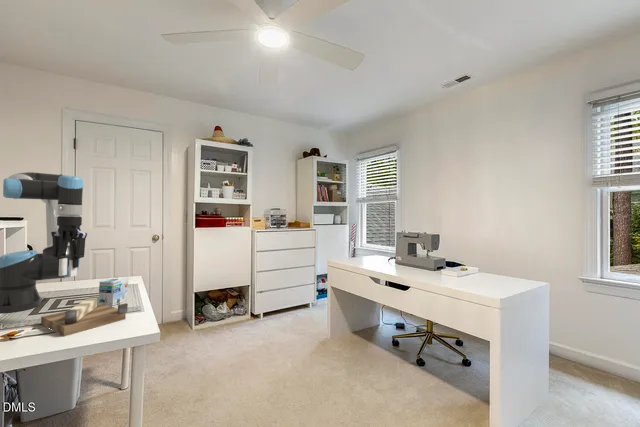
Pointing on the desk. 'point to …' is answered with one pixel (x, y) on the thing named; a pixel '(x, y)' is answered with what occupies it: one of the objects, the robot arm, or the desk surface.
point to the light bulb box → (113, 291)
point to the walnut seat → (85, 319)
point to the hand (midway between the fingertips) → (67, 275)
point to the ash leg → (81, 310)
